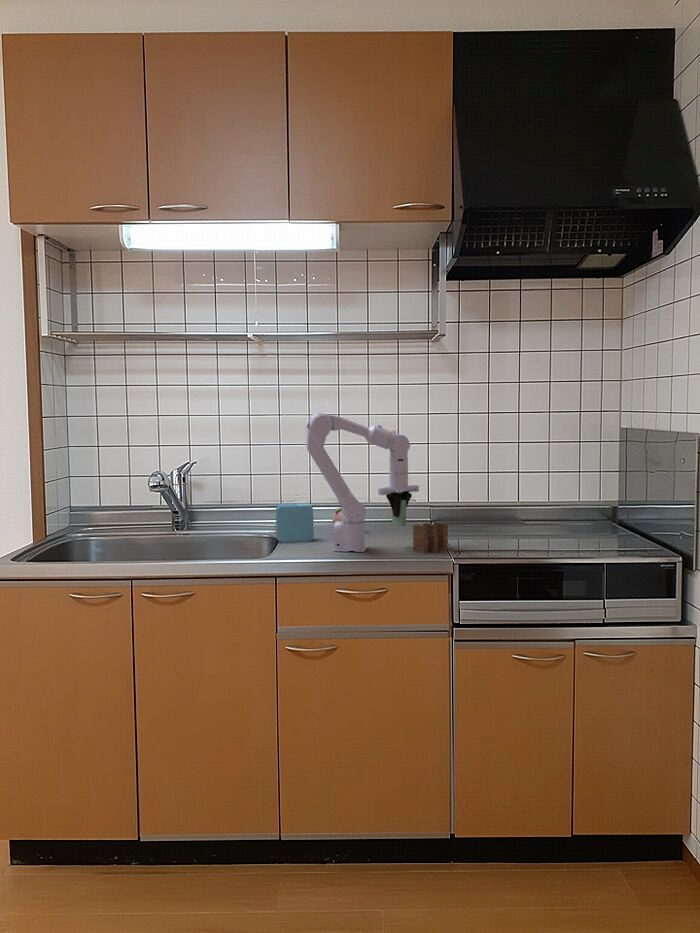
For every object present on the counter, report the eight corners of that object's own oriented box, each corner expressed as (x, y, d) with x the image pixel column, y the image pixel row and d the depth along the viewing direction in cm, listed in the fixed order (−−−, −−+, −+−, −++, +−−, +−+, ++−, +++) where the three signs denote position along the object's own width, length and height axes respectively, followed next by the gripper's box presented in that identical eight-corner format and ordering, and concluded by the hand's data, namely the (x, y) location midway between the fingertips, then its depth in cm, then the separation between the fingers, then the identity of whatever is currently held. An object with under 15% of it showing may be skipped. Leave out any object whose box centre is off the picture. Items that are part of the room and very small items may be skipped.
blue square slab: (312, 538, 265) (311, 503, 264) (313, 541, 261) (313, 505, 260) (276, 540, 264) (275, 504, 262) (277, 542, 259) (276, 506, 258)
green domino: (401, 526, 246) (401, 500, 245) (392, 524, 250) (392, 498, 249) (406, 525, 246) (405, 500, 246) (396, 523, 251) (396, 498, 250)
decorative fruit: (347, 536, 269) (346, 507, 268) (328, 533, 274) (328, 505, 273) (363, 532, 276) (363, 503, 275) (345, 529, 281) (344, 502, 280)
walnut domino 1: (423, 553, 240) (423, 527, 239) (413, 550, 244) (413, 525, 243) (427, 552, 240) (427, 526, 240) (417, 550, 245) (417, 524, 244)
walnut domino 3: (443, 550, 244) (443, 524, 243) (433, 547, 248) (433, 522, 247) (447, 549, 245) (447, 523, 244) (437, 547, 249) (437, 521, 248)
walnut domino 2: (433, 551, 242) (433, 525, 241) (423, 549, 246) (423, 523, 245) (437, 551, 243) (437, 525, 242) (427, 548, 247) (427, 523, 246)
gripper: (387, 475, 239) (388, 520, 240) (425, 472, 247) (425, 515, 248) (374, 473, 245) (374, 517, 246) (410, 470, 253) (411, 512, 254)
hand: (399, 516), depth 248 cm, fingers closed on green domino, 1 cm apart
